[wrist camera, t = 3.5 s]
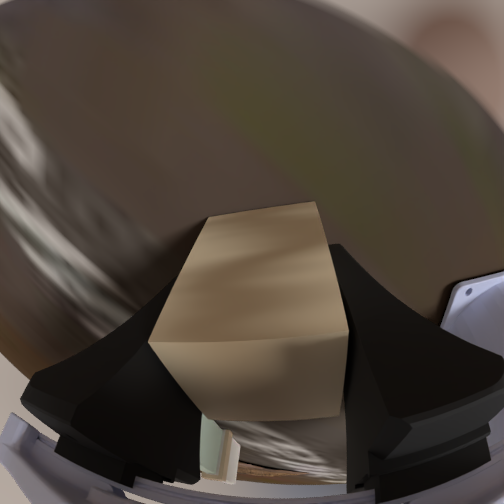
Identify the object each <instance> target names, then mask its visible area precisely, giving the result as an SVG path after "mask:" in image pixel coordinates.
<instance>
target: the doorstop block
mask: <svg viewBox="0 0 504 504" xmlns="http://www.w3.org/2000/svg"><path fill="white" fill-rule="evenodd" d="M348 335H349V329H348V324H347V320H346V315H345V311H344V306H343V302H342V298H341V294H340V289H339V285H338V281H337V277H336V273H335V269H334V266H333V262H332V258H331V254H330V251H329V247H328V244H327V240H326V236H325V233H324V230H323V226H322V223H321V219H320V216H319V213H318V210H317V206H316V203H315V201H313V202H306V203H298V204H291V205H284V206H277V207H270V208H263V209H256V210H250V211H243V212H237V213H231V214H225V215H219V216H213V217H208V219H207V221H206V223H205V225H204V227H203V229H202V231H201V233H200V234H199V236H198V238H197V240H196V242H195V244H194V246H193V248H192V250H191V252H190V254H189V256H188V258H187V260H186V262H185V264H184V266H183V268H182V270H181V272H180V274H179V276H178V278H177V280H176V282H175V284H174V286H173V288H172V290H171V292H170V295H169V297H168V299H167V301H166V303H165V305H164V307H163V309H162V312H161V314H160V316H159V318H158V320H157V322H156V325H155V327H154V329H153V331H152V334H151V336H150V338H149V340H148V343H149V344H150V346H151V347H152V349H153V350H154V352H155V353H156V354H157V356H158V357H159V359H160V360H161V361H162V363H163V364H164V366H165V367H166V368H167V370H168V371H169V372H170V374H171V375H172V376H173V378H174V379H175V380H176V381H177V383H178V384H179V385H180V387H181V388H182V389H183V390H184V392H185V393H186V394H187V395H188V397H189V398H190V399H191V400H192V401H193V403H194V404H195V405H196V406H197V407H198V409H199V410H200V411H201V412H202V413H203V414H204V415H205V417H206V418H207V419H209V420H226V421H286V420H303V419H315V418H325V417H333V416H339V414H340V408H341V401H342V394H343V386H344V378H345V369H346V359H347V348H348Z"/></svg>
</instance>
